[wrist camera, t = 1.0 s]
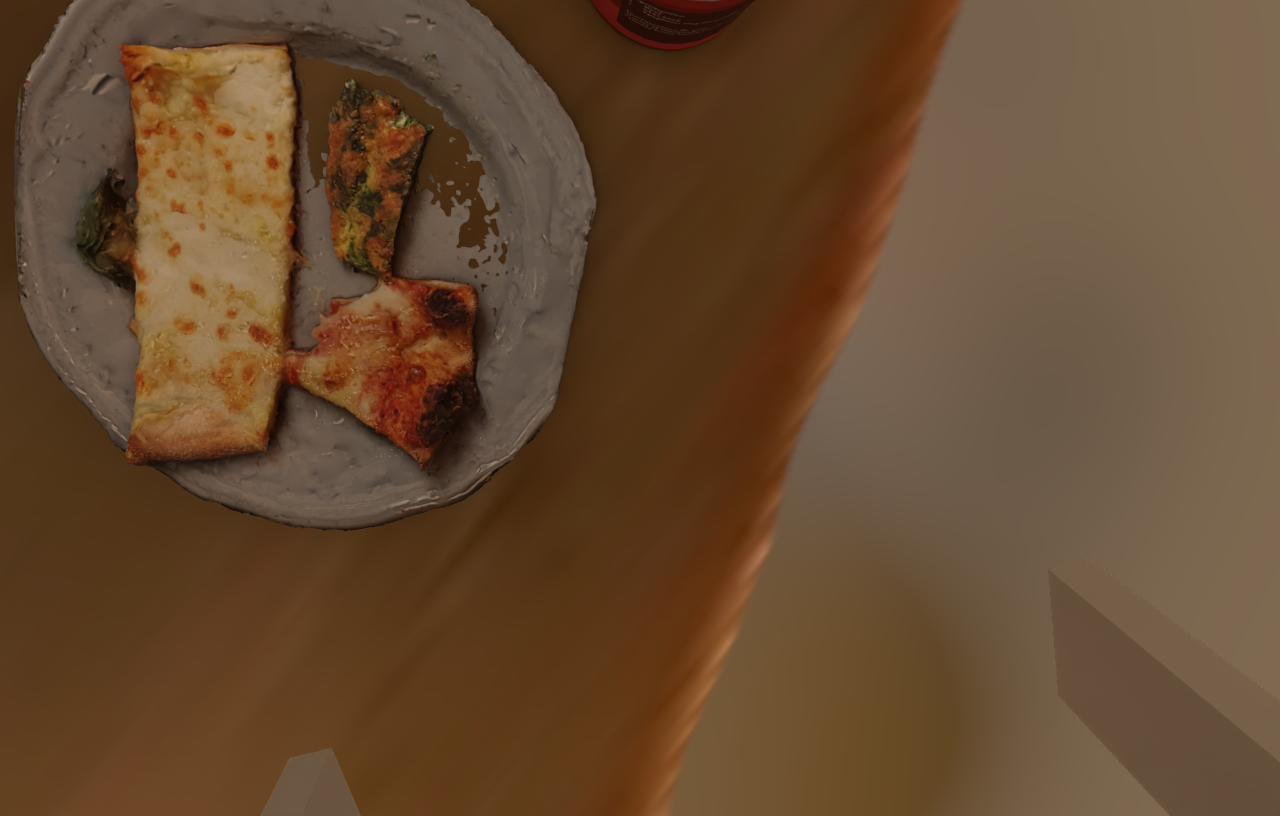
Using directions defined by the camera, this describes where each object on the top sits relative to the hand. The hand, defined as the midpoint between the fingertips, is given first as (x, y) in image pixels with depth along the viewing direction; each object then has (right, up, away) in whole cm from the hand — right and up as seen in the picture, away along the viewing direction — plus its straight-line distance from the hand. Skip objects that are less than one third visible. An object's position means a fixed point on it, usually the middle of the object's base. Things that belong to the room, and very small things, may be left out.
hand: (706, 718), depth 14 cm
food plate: (-16, +12, +22) cm, 29 cm away
